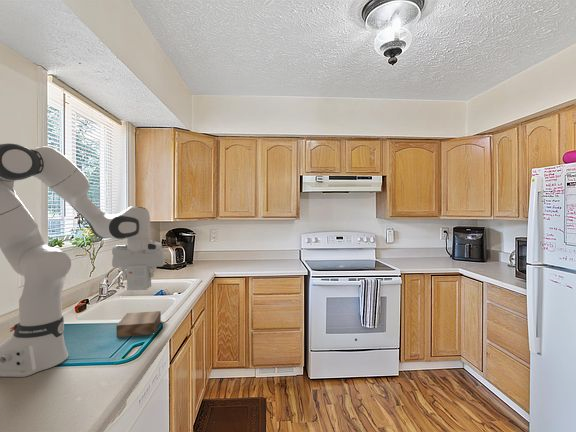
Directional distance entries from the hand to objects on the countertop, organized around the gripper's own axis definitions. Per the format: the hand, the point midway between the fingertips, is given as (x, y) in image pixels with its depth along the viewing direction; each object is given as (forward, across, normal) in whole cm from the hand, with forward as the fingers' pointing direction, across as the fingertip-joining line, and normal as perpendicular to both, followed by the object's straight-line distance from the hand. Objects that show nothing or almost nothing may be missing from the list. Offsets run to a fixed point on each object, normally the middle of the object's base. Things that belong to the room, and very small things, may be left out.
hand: (139, 277), depth 130 cm
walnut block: (+22, 0, 0) cm, 22 cm away
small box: (+5, 0, 0) cm, 5 cm away
